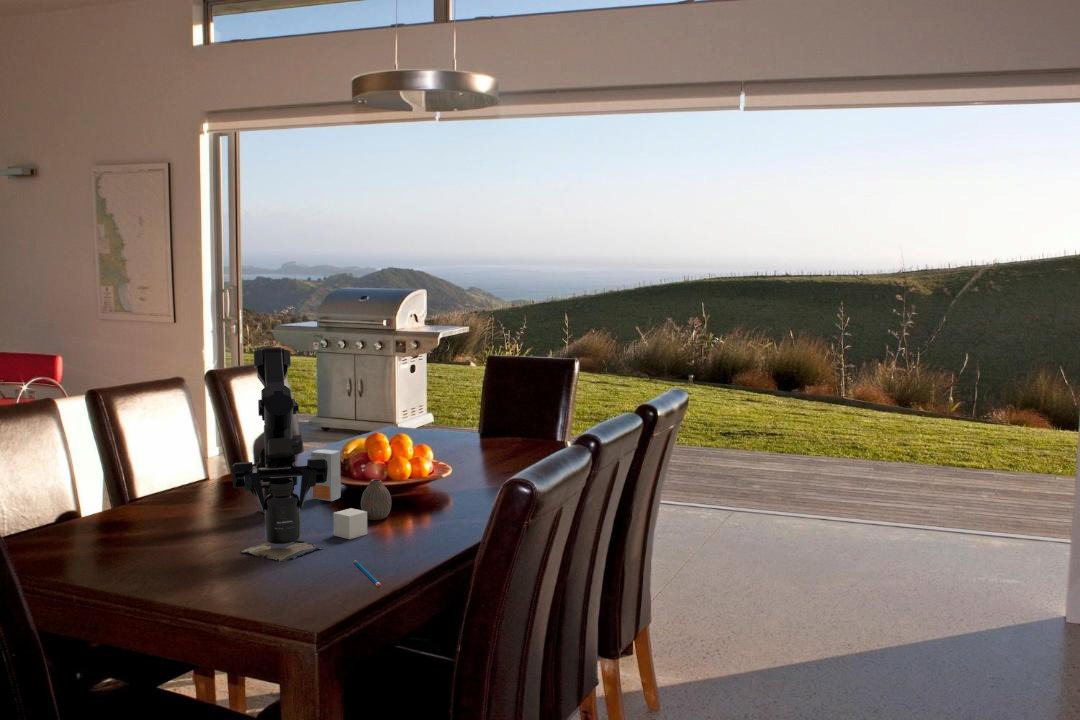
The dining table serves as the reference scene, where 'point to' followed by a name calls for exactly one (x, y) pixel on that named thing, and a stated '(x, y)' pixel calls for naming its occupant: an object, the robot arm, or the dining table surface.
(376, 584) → the pencil
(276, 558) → the parchment
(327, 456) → the skincare box
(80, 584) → the dining table surface
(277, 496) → the supplement bottle
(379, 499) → the vase
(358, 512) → the cream ceramic block
